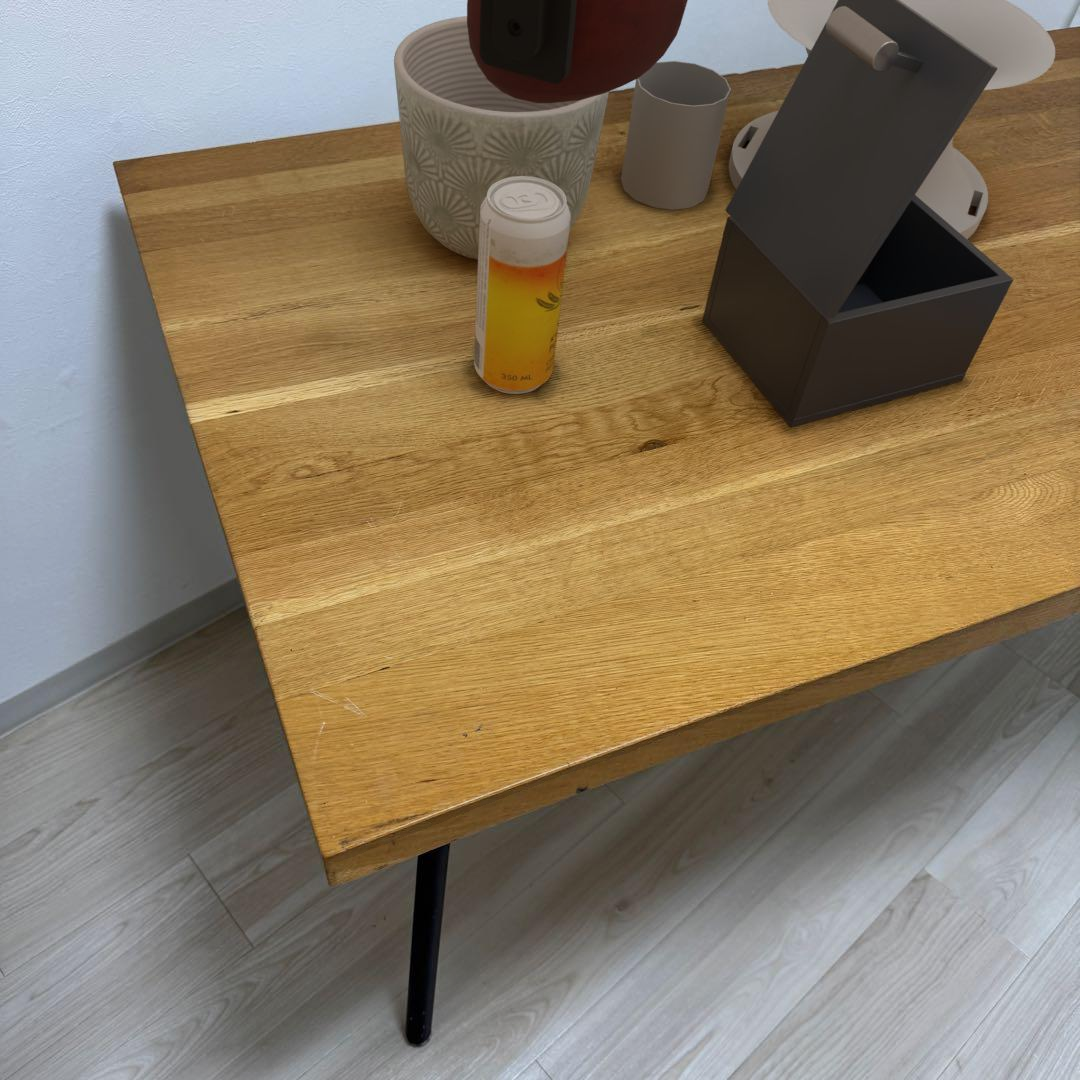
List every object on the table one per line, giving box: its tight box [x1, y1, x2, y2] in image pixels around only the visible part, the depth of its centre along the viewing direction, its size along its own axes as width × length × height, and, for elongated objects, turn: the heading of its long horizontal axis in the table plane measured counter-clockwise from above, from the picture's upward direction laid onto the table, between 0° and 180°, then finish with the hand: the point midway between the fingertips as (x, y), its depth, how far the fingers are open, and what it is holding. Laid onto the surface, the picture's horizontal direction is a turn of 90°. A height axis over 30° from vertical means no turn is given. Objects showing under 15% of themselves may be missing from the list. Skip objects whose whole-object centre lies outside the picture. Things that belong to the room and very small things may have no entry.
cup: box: [620, 60, 732, 211], centre depth 95 cm, size 8×8×10 cm
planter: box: [393, 15, 610, 261], centre depth 85 cm, size 17×17×15 cm
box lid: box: [725, 0, 997, 318], centre depth 67 cm, size 17×14×5 cm
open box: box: [701, 195, 1014, 428], centre depth 80 cm, size 17×14×10 cm
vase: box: [728, 0, 1056, 240], centre depth 96 cm, size 25×25×16 cm
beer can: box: [473, 176, 571, 395], centre depth 73 cm, size 6×6×15 cm
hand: (574, 22), depth 38 cm, fingers closed on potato, 8 cm apart
